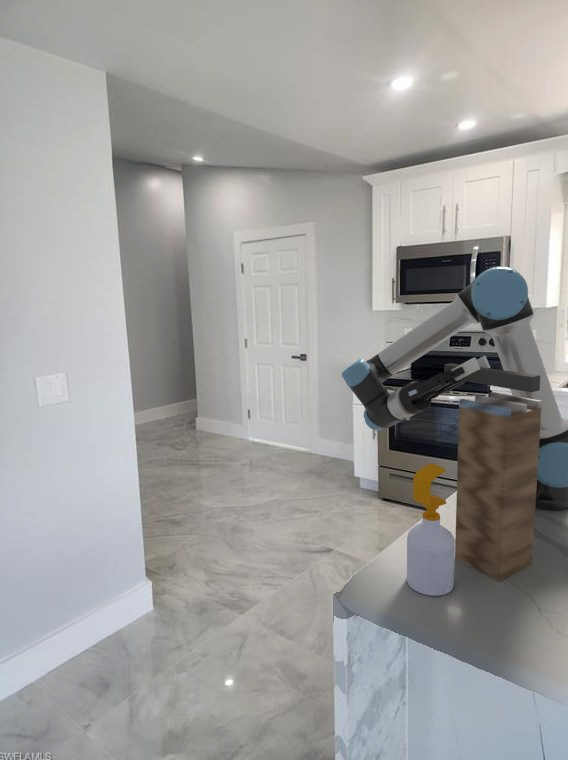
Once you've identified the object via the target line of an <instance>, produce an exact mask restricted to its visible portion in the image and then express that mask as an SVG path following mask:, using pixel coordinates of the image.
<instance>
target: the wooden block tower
mask: <svg viewBox="0 0 568 760" xmlns="http://www.w3.org/2000/svg"><path fill="white" fill-rule="evenodd" d="M458 405H459V406H458V437H457V438H458V439H457V467H456V468H457V470H456V472H457V474H456V475H457V477H456V478H457V479H456V503H455V504H456V505H455V506H456V507H455V508H456V511H455V537H454V539H455V555H454V559H456V560H458V561H460V562H462V563H465V564H466V565H468V566H470V567H472V568H474V569H476V570H478V571H479V572H480V573H481V572H482V573H483V574H485V575H486V576H488V577H491V578H492V579H494V580H497V581H498V582H502V581H503V580H505V579H507V578H508V577H511V576H512V575H515V574H516V573H519V571H522V570H524V569H526V568H527V567H529V566H531V565H533V555H534V554H533V553H534V552H533V551H534V536H535V521H536V520H535V518H536V508H535V506H536V489H537V472H538V455H539V439H540V422H541V405H542V401H541V400H535V399H529V398H524V397H518V396H513V395H512V394H506V393H501V392H494V391H492V392H489V396H483V395H475V396H474V400H470V399H464V398H462V399H459V403H458Z"/></svg>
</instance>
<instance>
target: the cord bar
mask: <svg viewBox="0 0 568 760" xmlns="http://www.w3.org/2000/svg"><path fill="white" fill-rule="evenodd" d="M461 364H462V363H461ZM461 364H460V363H454V362H451V363H446V364H444V367H443V368H444V369H443V370H444V371H443V374H444V373H445V372H446V371H450V372H452V371H451V370H452V369H454V368H455V367H457V366H459V365H461ZM454 379H455V378H454ZM460 380H461V381H467V383H473V384H480V385H485V386H490V387H491V386H492V387H498V388H502V389H509V390H510V389H514V390H520V391H526V392H536V391H540V375H534V374H527V373H520V372H512V371H505V370H504V369H497V368H496V369H495V368H491V367H490V368H483V367H480V370H478V371H476V372H474V373H472V374H470V375H468V376H466V377H464V378H462V379H460Z"/></svg>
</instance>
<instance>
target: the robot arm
mask: <svg viewBox="0 0 568 760" xmlns="http://www.w3.org/2000/svg"><path fill="white" fill-rule="evenodd" d="M534 315H535V314H534V311H533V307H532V304H531V301H530V298H529V286H528V284H527V281H526V279H525V278H524V276H523V275H522V274H521V273H520V272H518V271H517V270H516V269H514V268H512V267H508V266H497V265H496V266H493V267H489V268H488V269H486V270H484V271H482V272H481V273H480V274H478V275H477V276H476V277H475V278H474V280H473V281H471V282H470V284H468V285H467V286H466V287H465V288H464V289H462V290H461V291H460V292H458V293H457V294H455V298H454V300H453V301H452V302H450V303H449V304H448V305H446V306H444V307H443V308H442V309H440V310H438V311H437V312H435V313H434V314H433V315H431V316H430V317H429V318H428V319H426V320H424V321H423V322H421V323H420V324H418V325H417V326H415V327H414V328H413V329H411V330H410V331H408V332H407V333H405V334H404V335H403V336H401V337H400V338H398V339H396V341H394V342H393V343H391V344H390V345H389V346H387V347H385V348H384V349H382V350H381V351H379V352H378V353H377V354H376V355H374V356H372V357H371V358H369V359H367V360H365V359H364V358H359V359H357V360H356V361H354V362H353V363H352V364H351V365H349V366H348V367H346V368H345V369H344V370H343V371H342V372H341V377H342V379H343V380H344V382H345V383H346V386H348V387H349V388H350V391H352V392H353V394H354V395H355V397H356V398H357V399H358V401H360V403H361V405H362V406H363V407H364V411H363V418H364V422H365V424H366V426H367V427H368V428H369V429H371V430H373V431H383V430H385V429H388V428H392V427H393V426H394V425H397V424H398V423H400V422H403V421H404V420H406V421H410V420H411V417H413V416H415V415H418V414H420V413H422V412H424V411H426V410H428V408H430V406H431V404H432V400H433V399H436V398H438V397H439V396H441V395H443V394H444V393H450V391H452V390H453V389H456V388H457V387H460V386H462V385H463V384H465V383H466V382H467V381H461V380H460V379H462V378H464V377H466V376H468V375H470V374H472V373H474V372H476V371H478V370H480V367H483V368H490V369H491V366H490V364H489V361H488V359H487V358H488V357H487V356H486V355H483V356H481V357H480V358H476V357H472V358H470V359H469V360H467V361H465V362H463V363H461V365H459V366H457V367H455V368H454V369H452V370H451V371H452V372H450V371H446V372H445V373H444V372H439V373H437V374H436V375H434V376H432V377H430V378H428V379H426V380H424V381H422V382H421V381H415V380H414V381H411V382H409V383H407V384H406V385H404V386H402V387H400V388H398V389H396V390H394V391H392V392H391V393H390V392H389V391H388V389H387V388H386V386H384V384H383V383H384V382H385V381H386V380H388V379H389V378H391V377H393V376H394V375H395V374H397V373H399V372H400V371H401V370H403V369H405V368H406V367H408V366H409V365H411V364H412V363H414V362H415V361H417V360H418V359H420V358H421V357H423V356H424V355H426V354H427V353H429V352H430V351H432V350H433V349H435V348H436V347H438V346H439V345H441V344H442V343H444V342H446V341H447V340H449V339H451V337H453V336H454V335H456V334H458V333H460V332H461V331H462V330H464V329H465V328H467V327H468V326H470V325H471V324H475V325H477V324H479V323H480V327H481V329H482V331H483V332H484V333H486V334H488V335H490V336H491V337H492V338H491V339H492V340H493V343H494V347H495V349H496V352H497V354H498V357H499V360H500V363H501V367H502V370H505V371H512V372H520V373H527V374H534V375H540V391H536V392H526V391H520V390H514V389H509V390H510V391H511V392H510V393H511V395H512V396H518V397H524V398H529V399H535V400H541V401H542V405H541V422H540V439H539V455H538V472H537V489H536V506H535V509H538V510H544V511H545V510H546V511H560V510H561V511H563V510H568V418H567V417H566V418H565V417H562V415H561V412H560V410H559V406H558V403H557V401H556V397H555V395H554V391H553V388H552V386H551V382H550V379H549V376H548V373H547V371H546V368H545V365H544V362H543V359H542V356H541V353H540V350H539V348H538V345H537V341H536V338H535V336H534V333H533V330H532V327H531V321H532V319H533V317H534ZM454 378H455V379H454ZM467 383H468V382H467Z"/></svg>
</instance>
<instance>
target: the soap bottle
mask: <svg viewBox="0 0 568 760" xmlns="http://www.w3.org/2000/svg"><path fill="white" fill-rule="evenodd" d="M445 472H446V470H445V468H444V467H443V466H439V465H437V464H435V463H427V464H426V465H425V466H423V467H421V468H420V469H419V470H417V471H416V472H415V473H414V475H413V484H412V485H413V486H412V487H413V494H412V495H413V496H412V497H413V501H415V502H416V503H418V504H419V503H420V504H421V505H423V507H424V508H425V509H426V510H425V511H423V512H422V515H421V516H422V519H421V521H422V522H421V523H419V524H416V525H414V526H413V527H412V528H410V529H409V532H408V534H407V537H406V581H407V583H408V586H409V587H410V588H411V589H412V590H413V591H416V592H417V593H419V594H422V595H426V596H432V597H437V596H445V595H448V594H449V593H450V592H451V591H452V590H454V584H455V583H454V582H455V537H454V535H453V533H452V531H450V530H449V529H448V528H446V527H445V526H443V525H441V515H440V513H439V512H437V510H438V509H439V508H440V507H441V506H445V505H446V504H447V501H446V499H443V498H441V497H438V496H437V495H434V494H431V485H432V482H433V481H434V480H436V479H437V478H438V477H440V476H441V475H442V474H444V473H445Z"/></svg>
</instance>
